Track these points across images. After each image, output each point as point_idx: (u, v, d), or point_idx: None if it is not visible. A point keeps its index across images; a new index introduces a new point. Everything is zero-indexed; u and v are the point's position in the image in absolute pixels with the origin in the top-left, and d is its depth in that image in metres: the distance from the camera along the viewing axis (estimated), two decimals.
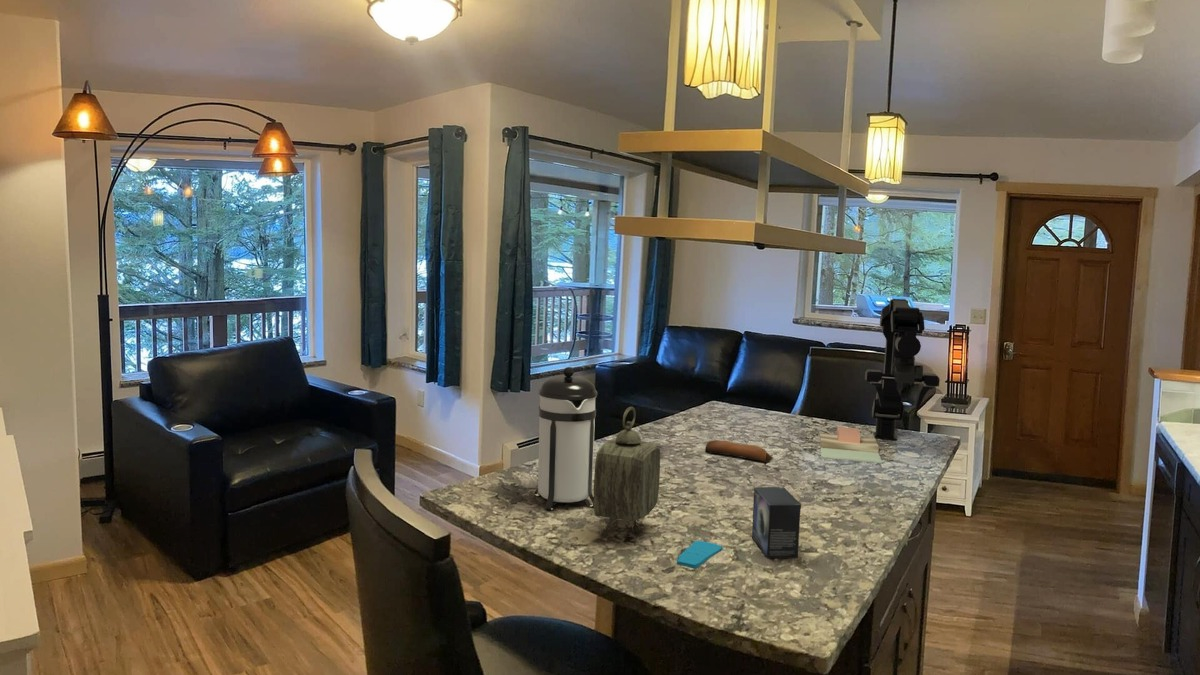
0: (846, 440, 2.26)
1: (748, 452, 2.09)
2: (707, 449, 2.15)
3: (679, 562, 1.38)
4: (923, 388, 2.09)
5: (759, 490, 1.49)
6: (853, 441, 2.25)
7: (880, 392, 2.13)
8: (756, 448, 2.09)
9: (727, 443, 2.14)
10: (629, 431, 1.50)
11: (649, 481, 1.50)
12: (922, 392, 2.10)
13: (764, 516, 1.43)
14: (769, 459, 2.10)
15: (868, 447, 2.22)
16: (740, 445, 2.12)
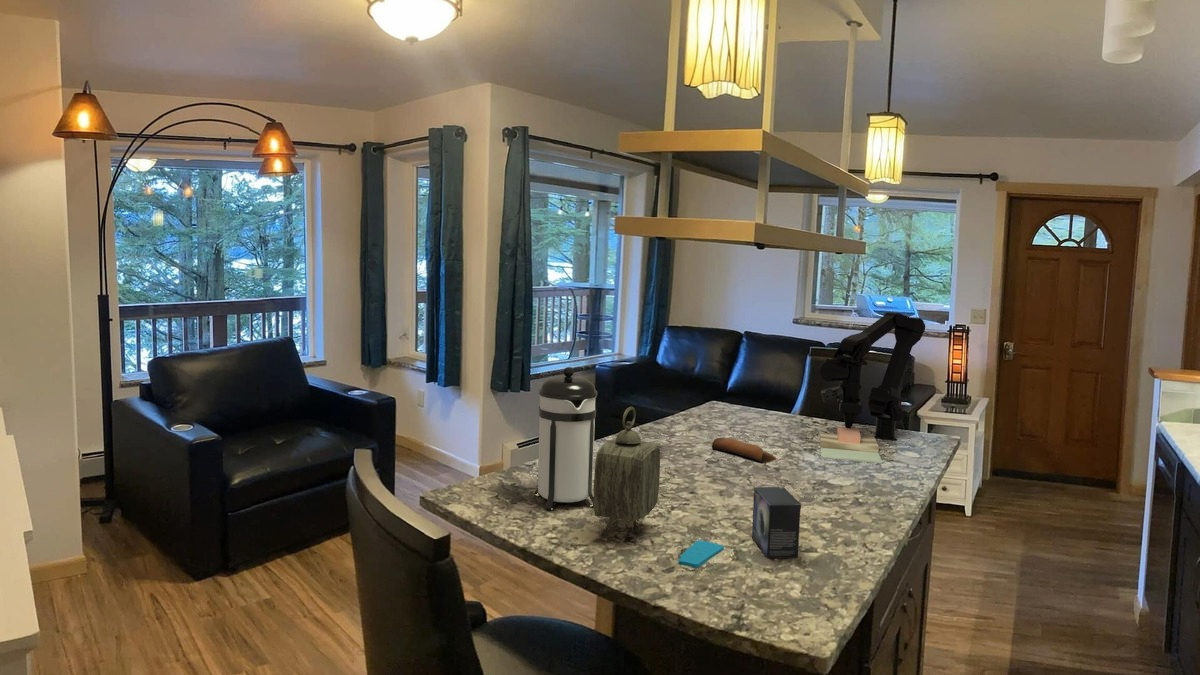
0: (846, 440, 2.25)
1: (747, 451, 2.10)
2: (713, 445, 2.19)
3: (680, 561, 1.38)
4: None
5: (759, 490, 1.49)
6: (853, 441, 2.25)
7: None
8: (755, 447, 2.10)
9: (732, 441, 2.16)
10: (628, 431, 1.50)
11: (649, 481, 1.50)
12: None
13: (764, 516, 1.43)
14: (768, 459, 2.09)
15: (868, 447, 2.22)
16: (742, 444, 2.14)
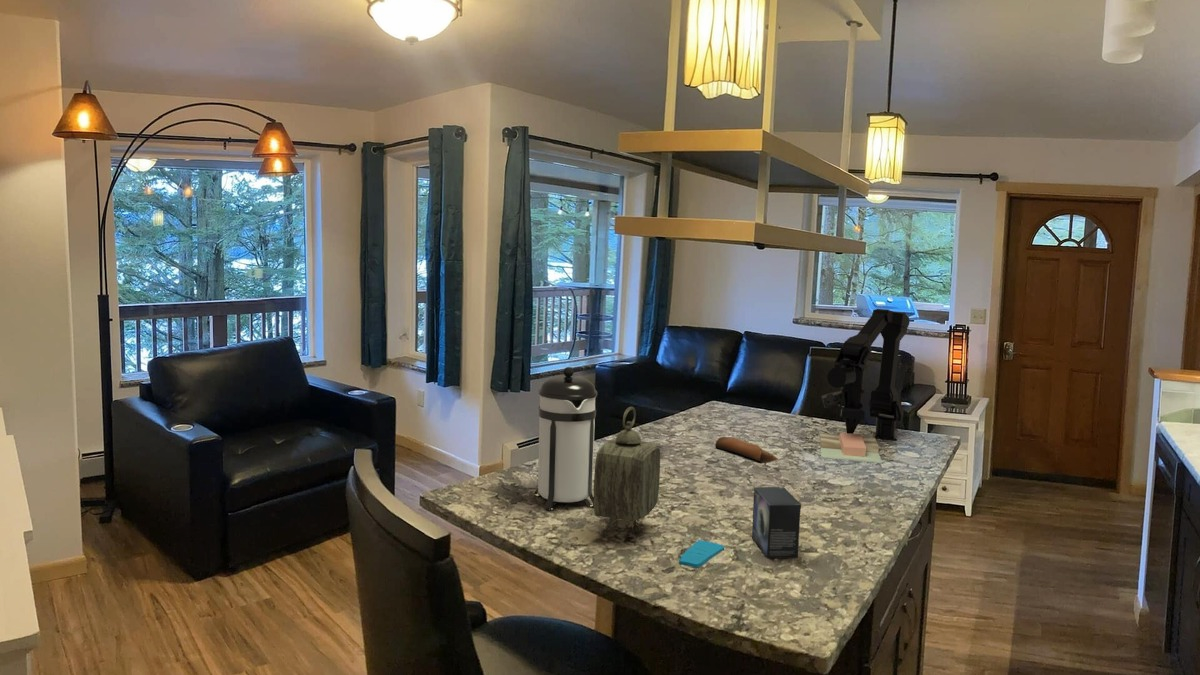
0: (851, 453, 2.17)
1: (747, 450, 2.11)
2: (716, 445, 2.21)
3: (681, 561, 1.38)
4: None
5: (759, 490, 1.49)
6: (858, 454, 2.16)
7: (845, 422, 2.26)
8: (755, 447, 2.10)
9: (734, 440, 2.17)
10: (629, 431, 1.50)
11: (649, 481, 1.50)
12: None
13: (764, 516, 1.43)
14: (768, 460, 2.09)
15: (868, 447, 2.22)
16: (743, 443, 2.14)
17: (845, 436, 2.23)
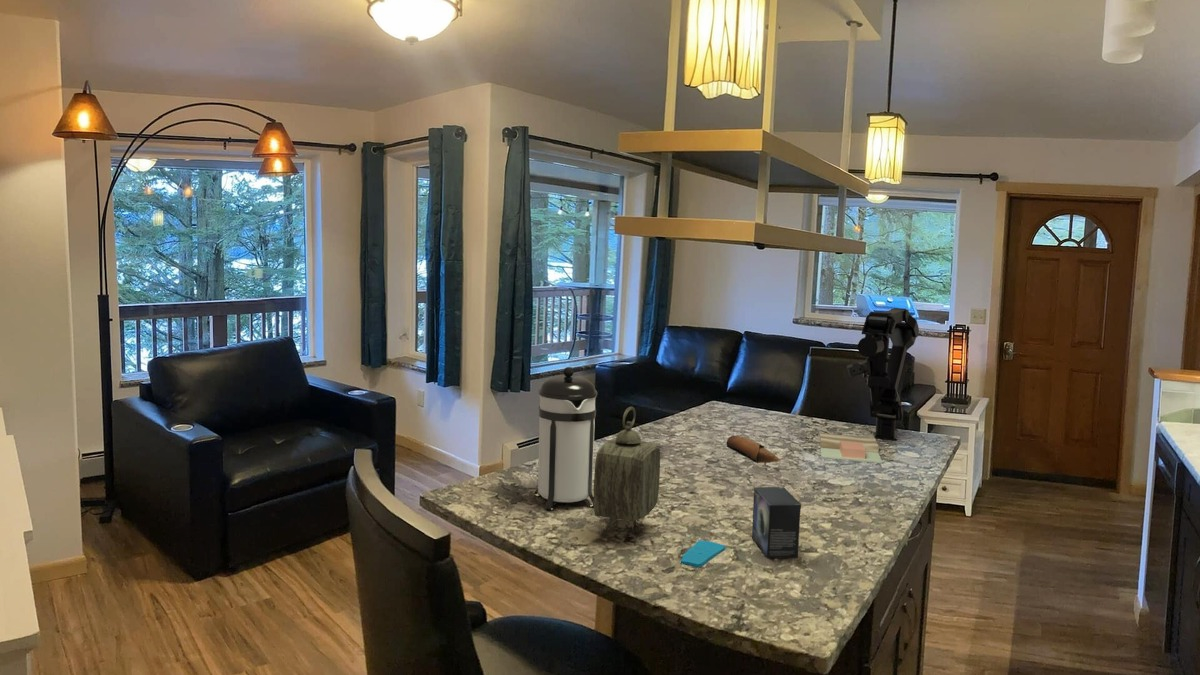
0: (850, 455, 2.14)
1: (748, 449, 2.12)
2: (727, 443, 2.23)
3: (682, 561, 1.38)
4: None
5: (759, 490, 1.49)
6: (858, 456, 2.14)
7: (870, 391, 2.32)
8: (755, 447, 2.11)
9: (741, 439, 2.19)
10: (628, 431, 1.50)
11: (649, 481, 1.50)
12: (870, 388, 2.30)
13: (764, 516, 1.43)
14: (767, 460, 2.09)
15: (868, 447, 2.22)
16: (748, 442, 2.15)
17: (845, 442, 2.21)
